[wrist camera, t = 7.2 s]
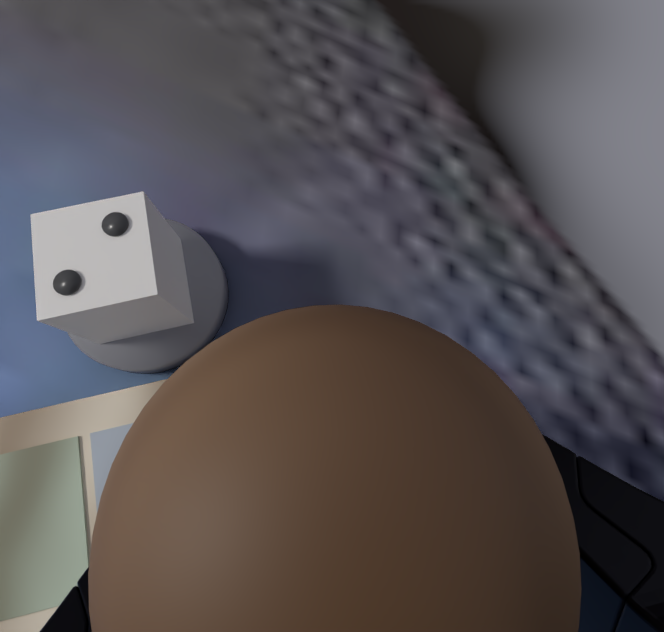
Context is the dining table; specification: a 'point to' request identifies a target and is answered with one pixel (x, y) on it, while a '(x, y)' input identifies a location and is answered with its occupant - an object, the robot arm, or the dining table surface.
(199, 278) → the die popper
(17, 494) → the board
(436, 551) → the pawn
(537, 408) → the dining table surface
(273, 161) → the dining table surface
